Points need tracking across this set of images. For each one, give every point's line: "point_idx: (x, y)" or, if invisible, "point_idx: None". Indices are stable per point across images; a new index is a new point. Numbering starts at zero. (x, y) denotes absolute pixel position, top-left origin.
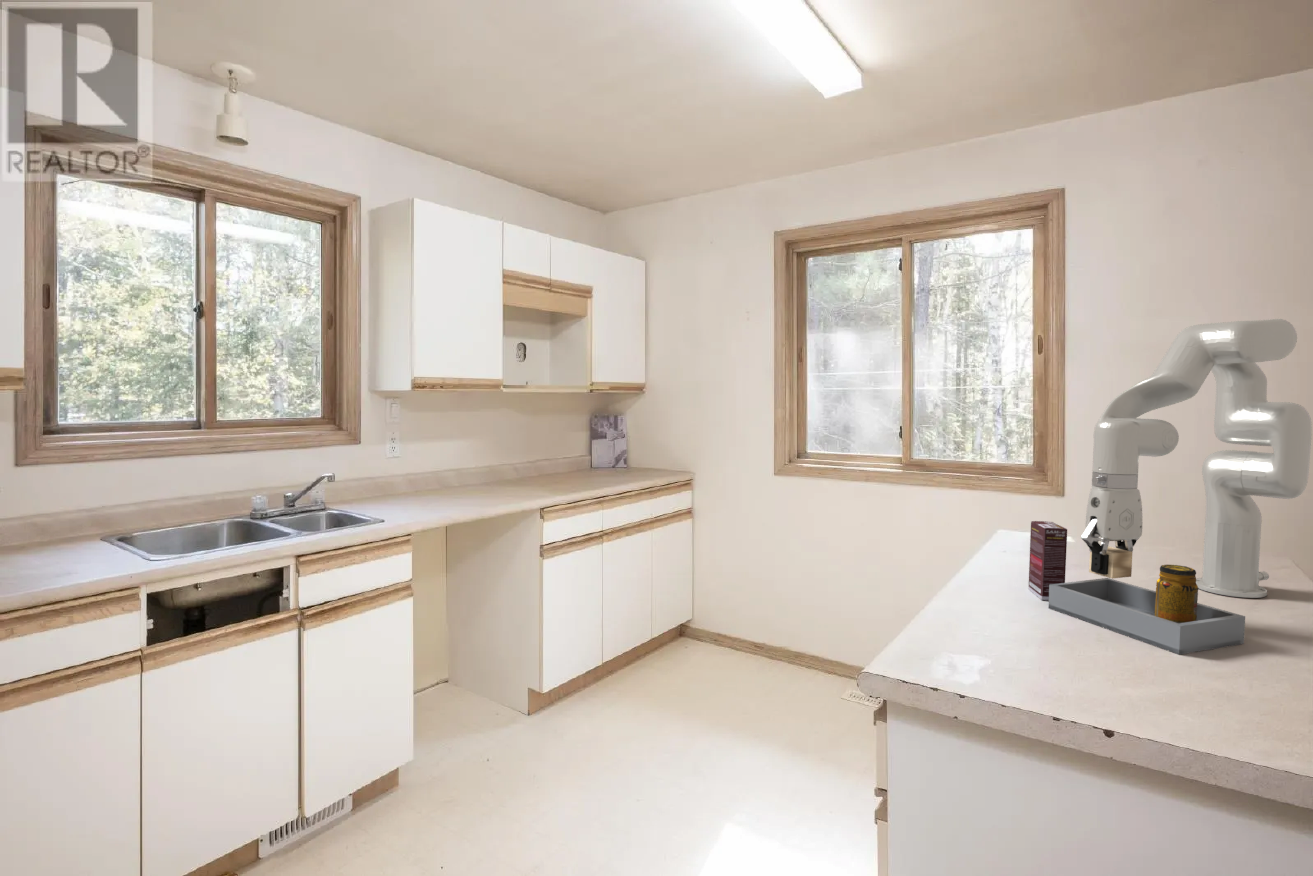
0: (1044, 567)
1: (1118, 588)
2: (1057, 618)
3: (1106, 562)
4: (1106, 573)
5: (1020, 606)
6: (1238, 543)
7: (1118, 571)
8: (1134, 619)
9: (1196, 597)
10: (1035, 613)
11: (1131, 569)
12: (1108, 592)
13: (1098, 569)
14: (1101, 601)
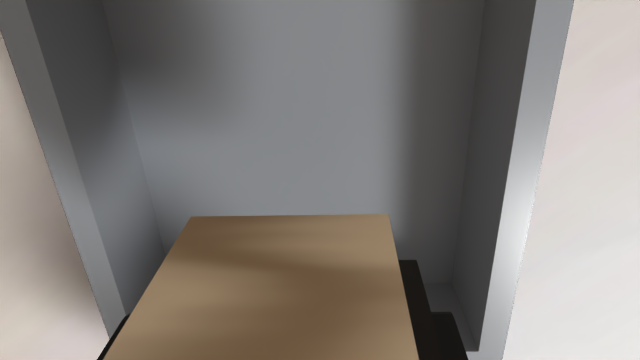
0: None
1: (138, 290)
2: (556, 194)
3: (435, 332)
4: (409, 262)
5: (543, 327)
6: None
7: (324, 244)
8: None
9: None
10: (574, 259)
11: (171, 250)
12: None
13: (447, 313)
14: (554, 88)
